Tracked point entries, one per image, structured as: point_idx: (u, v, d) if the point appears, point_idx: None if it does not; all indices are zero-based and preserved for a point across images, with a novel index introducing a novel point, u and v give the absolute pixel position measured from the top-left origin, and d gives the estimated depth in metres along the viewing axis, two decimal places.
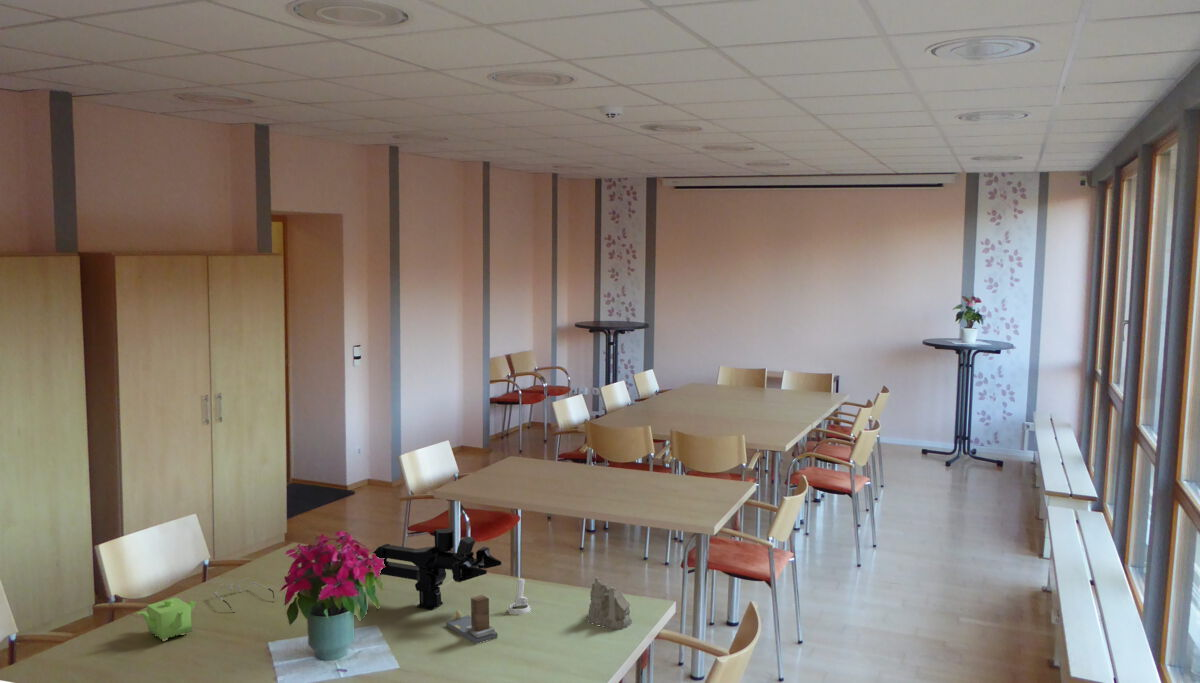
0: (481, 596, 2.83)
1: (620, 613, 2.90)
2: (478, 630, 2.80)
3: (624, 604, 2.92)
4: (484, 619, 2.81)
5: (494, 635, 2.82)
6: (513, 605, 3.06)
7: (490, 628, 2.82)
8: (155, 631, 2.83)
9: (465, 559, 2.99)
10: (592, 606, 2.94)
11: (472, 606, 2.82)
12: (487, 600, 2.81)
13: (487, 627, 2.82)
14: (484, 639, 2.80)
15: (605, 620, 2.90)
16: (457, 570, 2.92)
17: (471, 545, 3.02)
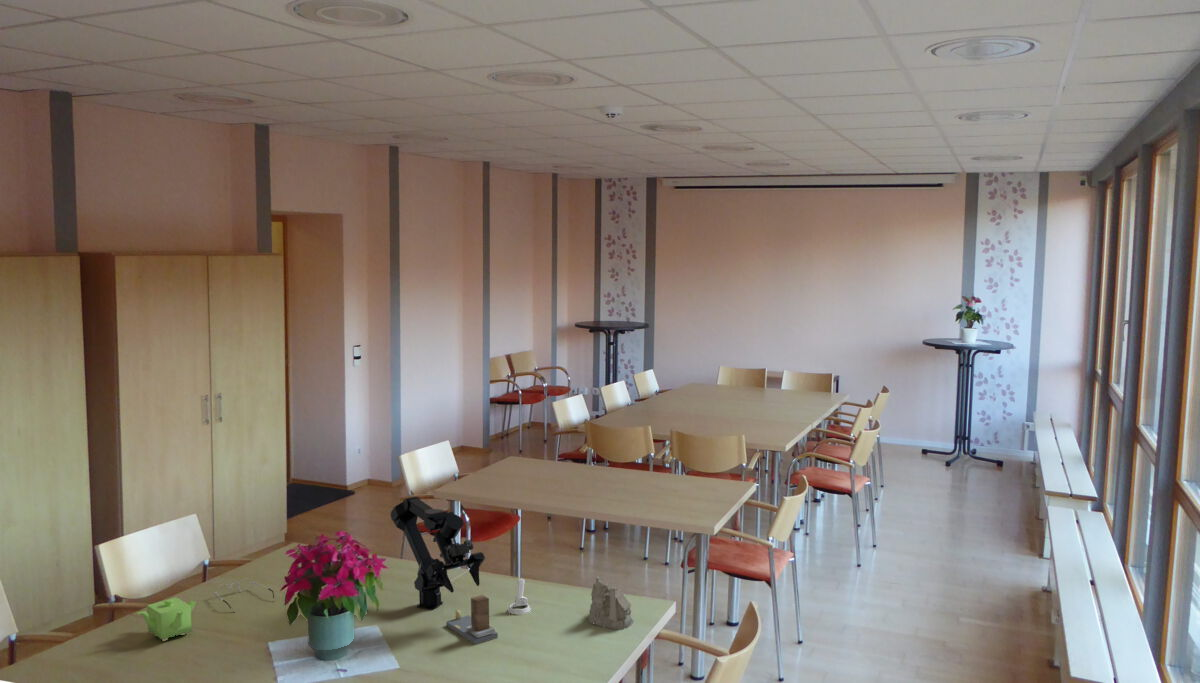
0: (481, 596, 2.83)
1: (621, 613, 2.90)
2: (478, 630, 2.80)
3: (625, 604, 2.92)
4: (484, 619, 2.81)
5: (494, 635, 2.82)
6: (513, 605, 3.06)
7: (490, 628, 2.82)
8: (155, 631, 2.83)
9: (451, 560, 2.91)
10: (593, 606, 2.94)
11: (472, 606, 2.82)
12: (487, 600, 2.81)
13: (487, 627, 2.82)
14: (484, 639, 2.80)
15: (606, 620, 2.90)
16: (431, 571, 2.86)
17: (464, 553, 2.90)
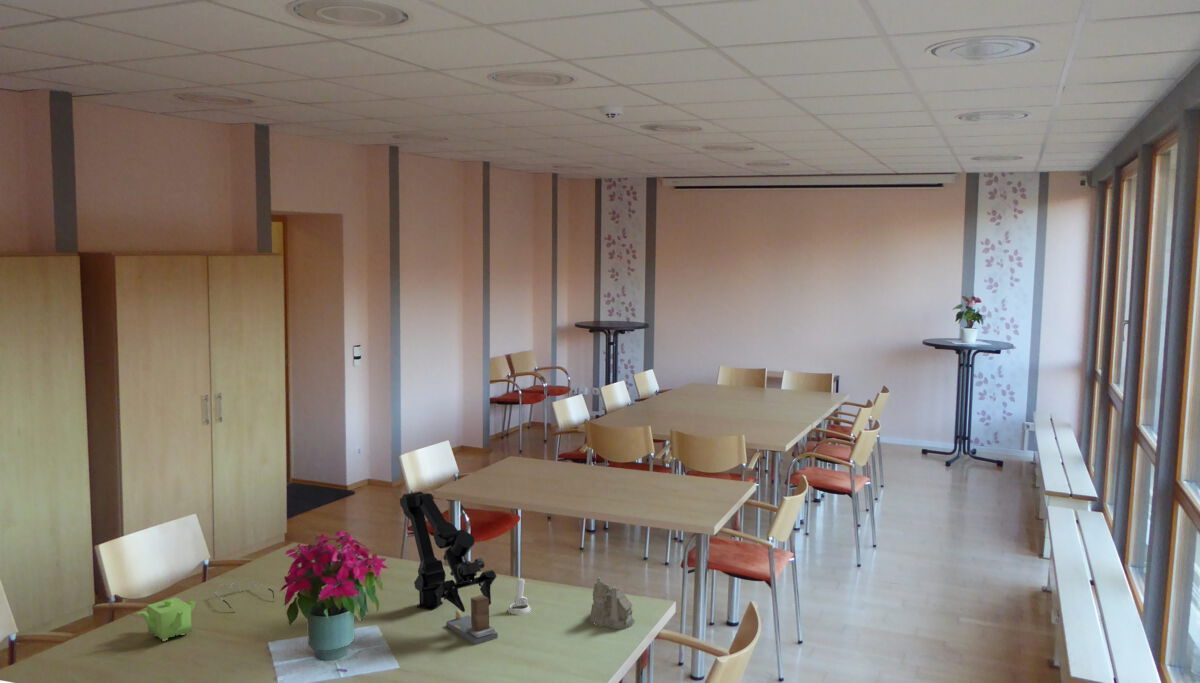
0: (481, 596, 2.83)
1: (622, 613, 2.90)
2: (478, 630, 2.80)
3: (626, 604, 2.92)
4: (484, 619, 2.81)
5: (494, 635, 2.82)
6: (513, 605, 3.06)
7: (490, 628, 2.82)
8: (155, 631, 2.83)
9: (462, 579, 2.86)
10: (594, 606, 2.94)
11: (472, 606, 2.82)
12: (487, 600, 2.81)
13: (487, 627, 2.82)
14: (484, 639, 2.80)
15: (608, 620, 2.90)
16: (441, 590, 2.81)
17: (475, 571, 2.85)
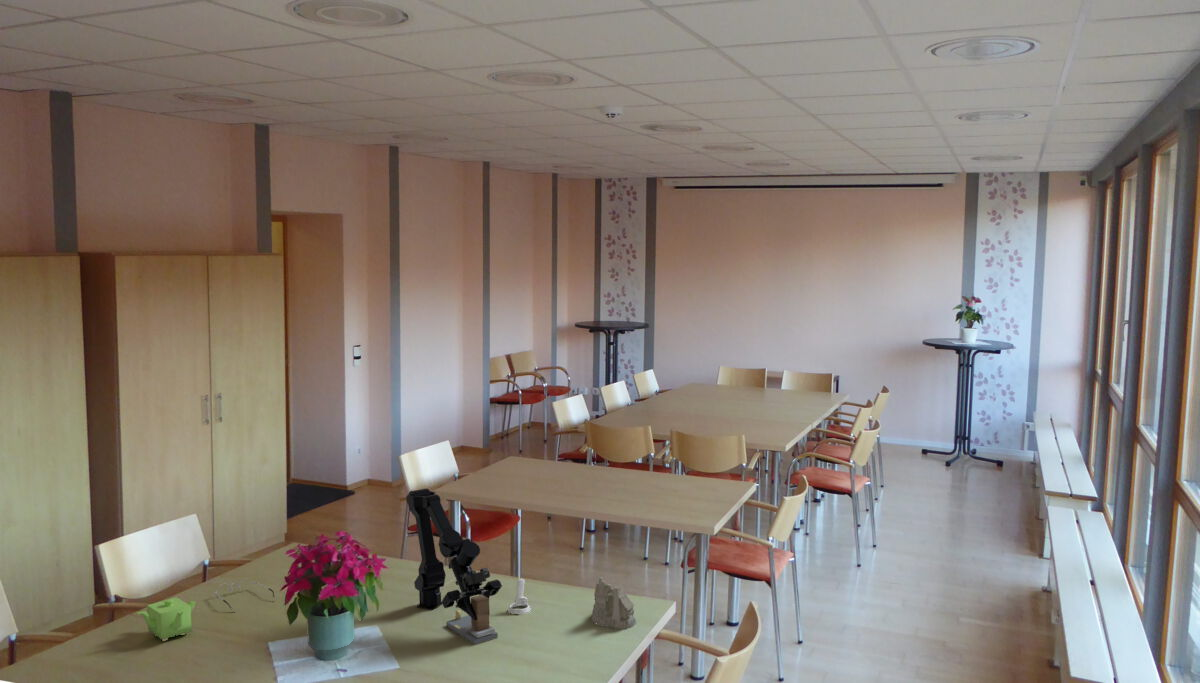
0: (481, 596, 2.83)
1: (624, 613, 2.90)
2: (478, 630, 2.80)
3: (628, 604, 2.92)
4: (484, 619, 2.81)
5: (494, 635, 2.82)
6: (513, 605, 3.06)
7: (490, 628, 2.82)
8: (155, 631, 2.83)
9: (467, 588, 2.83)
10: (596, 606, 2.94)
11: (472, 606, 2.82)
12: (487, 600, 2.81)
13: (487, 627, 2.82)
14: (484, 639, 2.80)
15: (609, 620, 2.90)
16: (446, 600, 2.79)
17: None
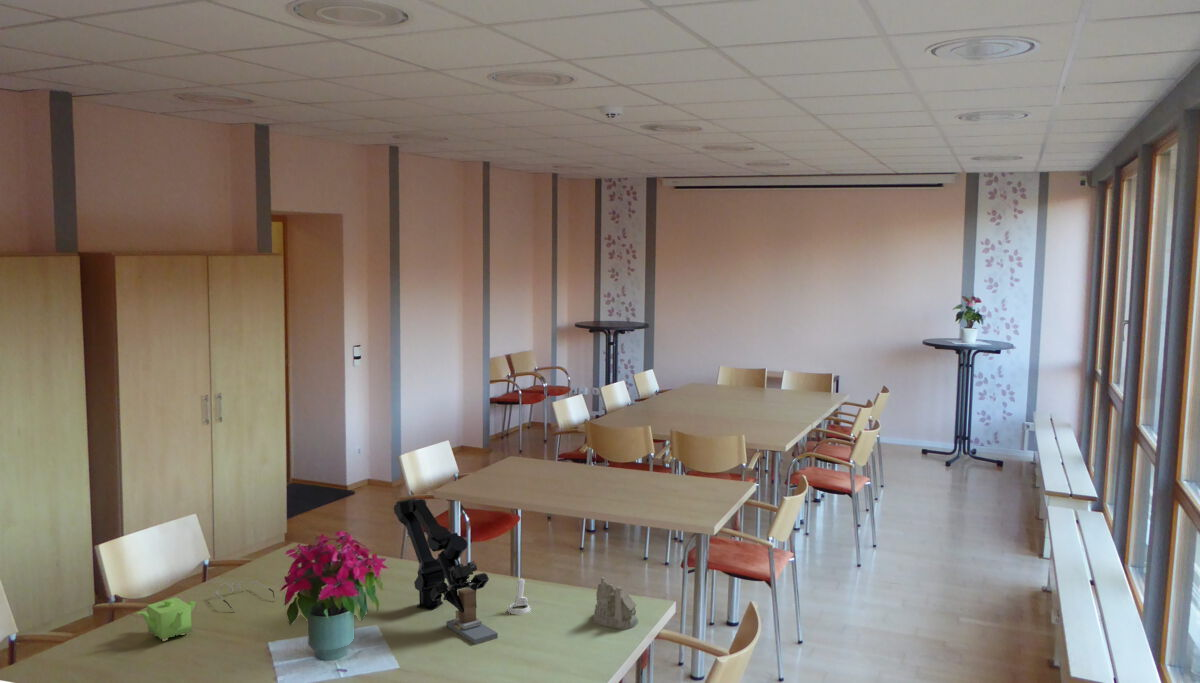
0: (468, 589, 2.89)
1: (626, 613, 2.90)
2: (465, 622, 2.86)
3: (630, 604, 2.92)
4: (471, 611, 2.87)
5: (494, 635, 2.82)
6: (513, 605, 3.06)
7: (477, 620, 2.88)
8: (155, 631, 2.83)
9: (454, 581, 2.90)
10: (598, 606, 2.94)
11: None
12: (474, 593, 2.88)
13: (474, 619, 2.88)
14: (484, 639, 2.80)
15: (611, 620, 2.90)
16: (434, 592, 2.85)
17: (468, 574, 2.89)
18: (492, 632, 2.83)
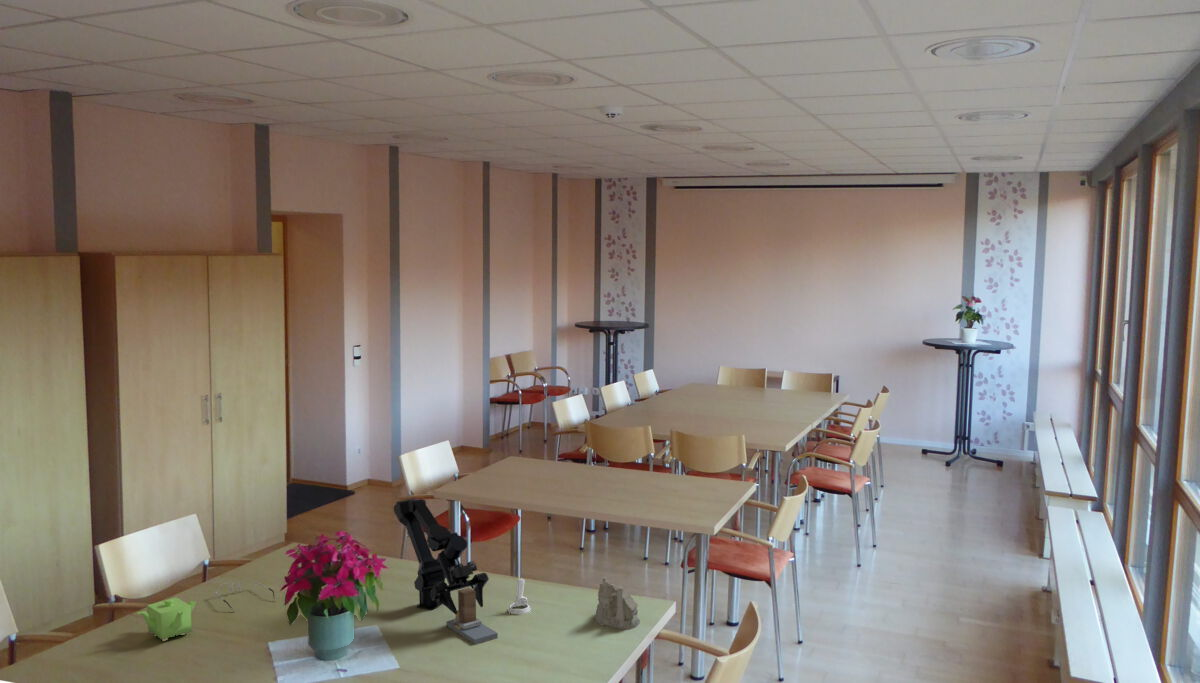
0: (468, 589, 2.89)
1: (628, 613, 2.90)
2: (465, 622, 2.86)
3: (632, 604, 2.92)
4: (471, 611, 2.87)
5: (494, 635, 2.82)
6: (513, 605, 3.06)
7: (477, 620, 2.88)
8: (155, 631, 2.83)
9: (454, 581, 2.90)
10: (600, 606, 2.94)
11: (459, 599, 2.88)
12: (474, 593, 2.88)
13: (474, 619, 2.88)
14: (484, 639, 2.80)
15: (613, 620, 2.90)
16: (434, 592, 2.85)
17: (468, 574, 2.89)
18: (492, 632, 2.83)
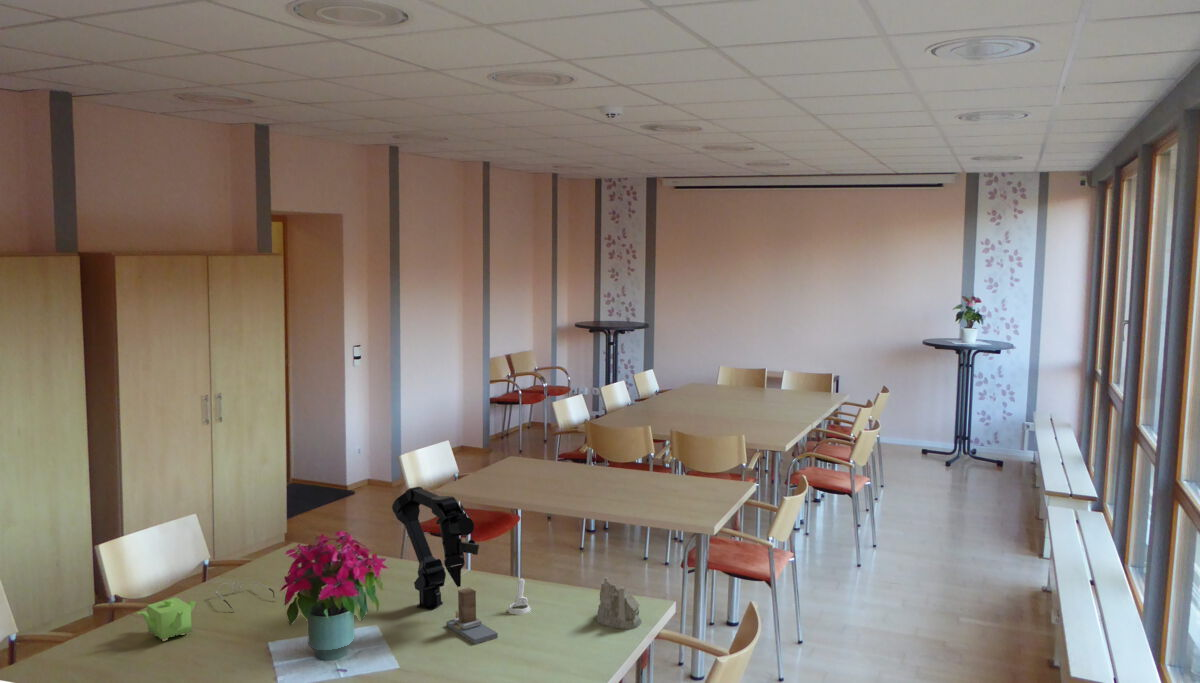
0: (468, 589, 2.89)
1: (629, 613, 2.90)
2: (465, 622, 2.86)
3: (634, 604, 2.92)
4: (471, 611, 2.87)
5: (494, 635, 2.82)
6: (513, 605, 3.06)
7: (477, 620, 2.88)
8: (155, 631, 2.83)
9: (460, 554, 2.95)
10: (601, 606, 2.94)
11: (459, 599, 2.88)
12: (474, 593, 2.88)
13: (474, 619, 2.88)
14: (484, 639, 2.80)
15: (615, 620, 2.90)
16: (457, 562, 2.87)
17: None
18: (492, 632, 2.83)
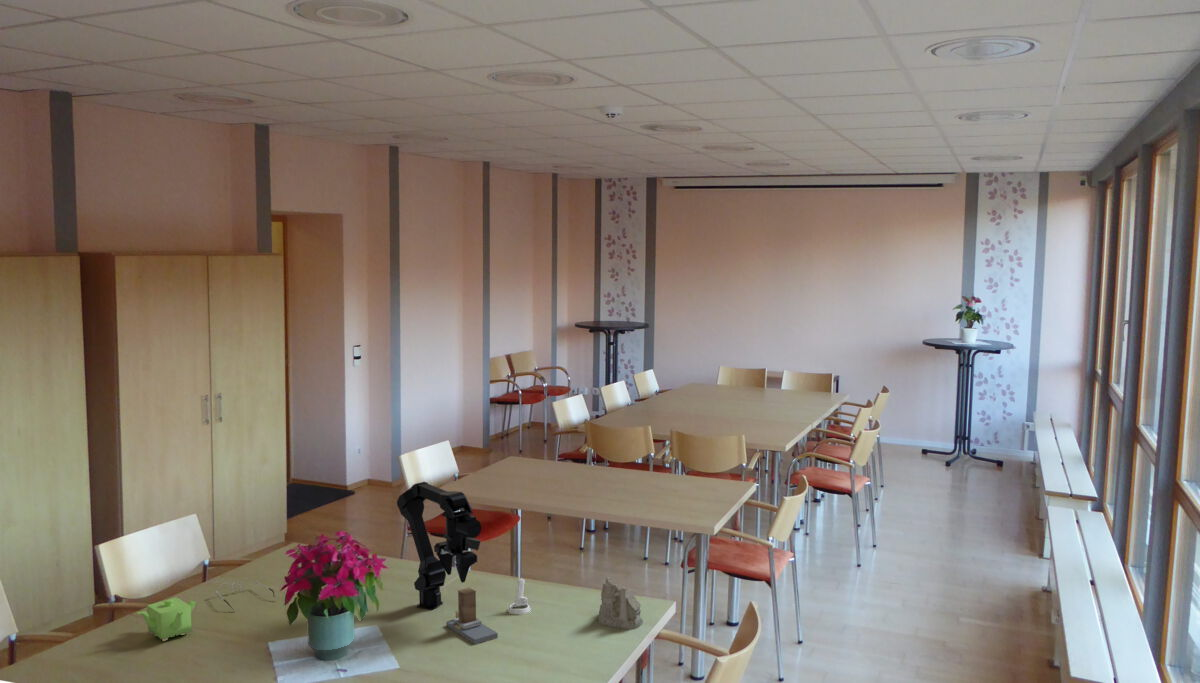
0: (468, 589, 2.89)
1: (631, 613, 2.90)
2: (465, 622, 2.86)
3: (635, 604, 2.92)
4: (471, 611, 2.87)
5: (494, 635, 2.82)
6: (513, 605, 3.06)
7: (477, 620, 2.88)
8: (155, 631, 2.83)
9: None
10: (603, 606, 2.94)
11: (459, 599, 2.88)
12: (474, 593, 2.88)
13: (474, 619, 2.88)
14: (484, 639, 2.80)
15: (616, 620, 2.90)
16: (472, 560, 2.90)
17: None
18: (492, 632, 2.83)
